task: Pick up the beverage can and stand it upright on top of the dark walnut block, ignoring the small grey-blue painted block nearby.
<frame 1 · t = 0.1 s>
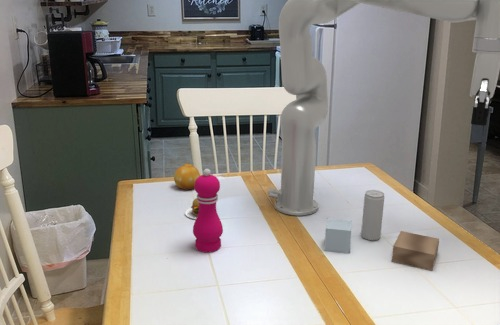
hand: (479, 120, 120), 31 cm above the table, fingers open, 9 cm apart
hamburger: (201, 216, 144), on the table
beverage can: (370, 237, 131), on the table
pepper mill: (208, 247, 125), on the table
grey-blue block: (337, 246, 126), on the table
fruit: (187, 188, 163), on the table
walnut block: (414, 257, 120), on the table
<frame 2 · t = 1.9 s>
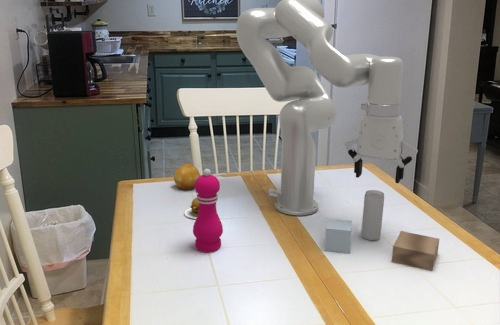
hand: (378, 178, 125), 16 cm above the table, fingers open, 9 cm apart
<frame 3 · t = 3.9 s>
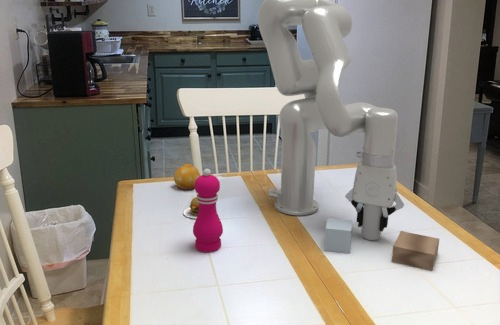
hand: (371, 226, 130), 3 cm above the table, fingers closed on beverage can, 4 cm apart
beverage can: (370, 237, 131), on the table, touching gripper
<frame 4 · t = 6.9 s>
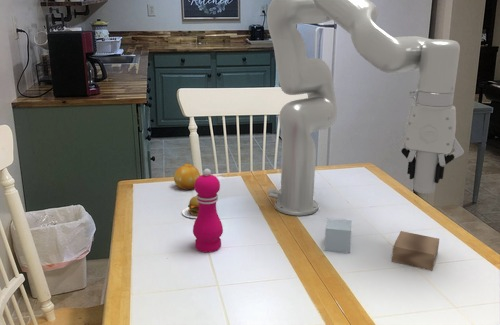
hand: (424, 178, 114), 20 cm above the table, fingers closed on beverage can, 4 cm apart
beverage can: (423, 191, 115), point 17 cm above the table, touching gripper
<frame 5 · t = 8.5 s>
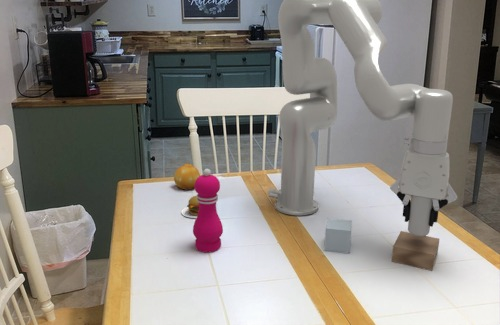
hand: (419, 221, 118), 9 cm above the table, fingers closed on beverage can, 4 cm apart
beverage can: (418, 233, 118), point 6 cm above the table, touching gripper
when the fingers open (8 cm above the table, at t = 9.7 s): beverage can stays where it is, resting on walnut block.
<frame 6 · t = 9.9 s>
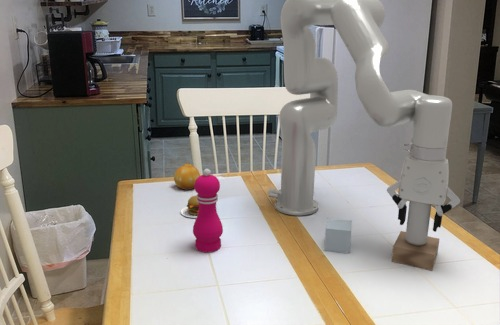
hand: (418, 225, 118), 8 cm above the table, fingers open, 6 cm apart
beverage can: (415, 242, 119), point 4 cm above the table, touching walnut block
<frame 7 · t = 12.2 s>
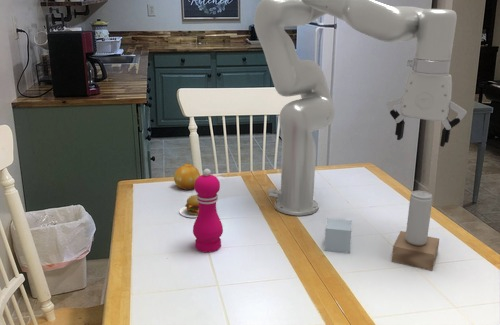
hand: (420, 141, 118), 27 cm above the table, fingers open, 9 cm apart
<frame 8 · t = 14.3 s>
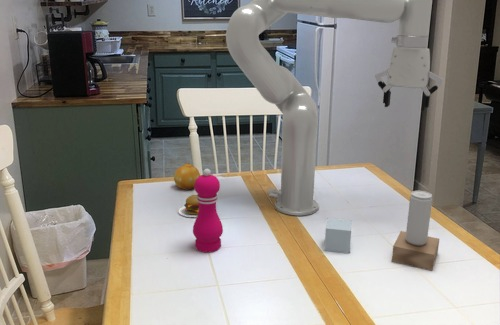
hand: (405, 108, 137), 30 cm above the table, fingers open, 9 cm apart
at the end: beverage can 0.2 cm off-centre on the walnut block, point 3.8 cm above the walnut block's base; beverage can tilted 0°; the gripper is holding nothing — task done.
